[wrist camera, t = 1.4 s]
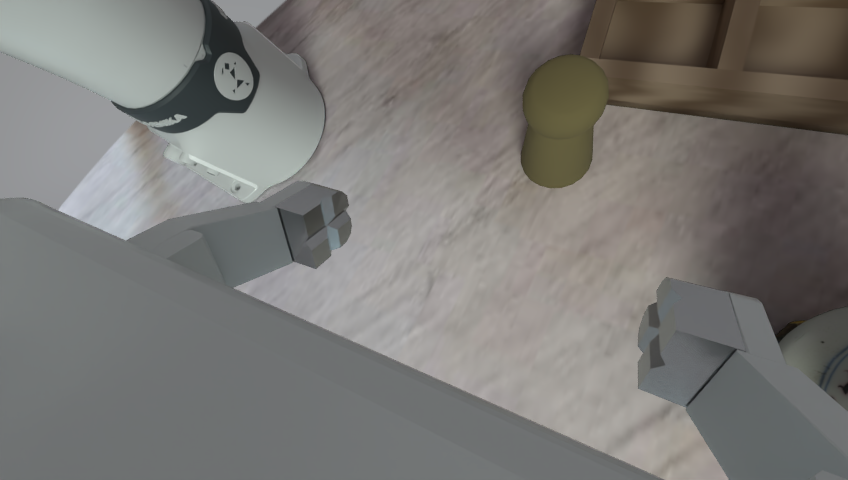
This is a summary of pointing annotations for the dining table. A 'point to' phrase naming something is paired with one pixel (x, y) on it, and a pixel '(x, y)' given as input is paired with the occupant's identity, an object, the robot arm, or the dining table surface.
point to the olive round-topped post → (562, 119)
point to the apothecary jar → (820, 351)
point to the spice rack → (727, 59)
